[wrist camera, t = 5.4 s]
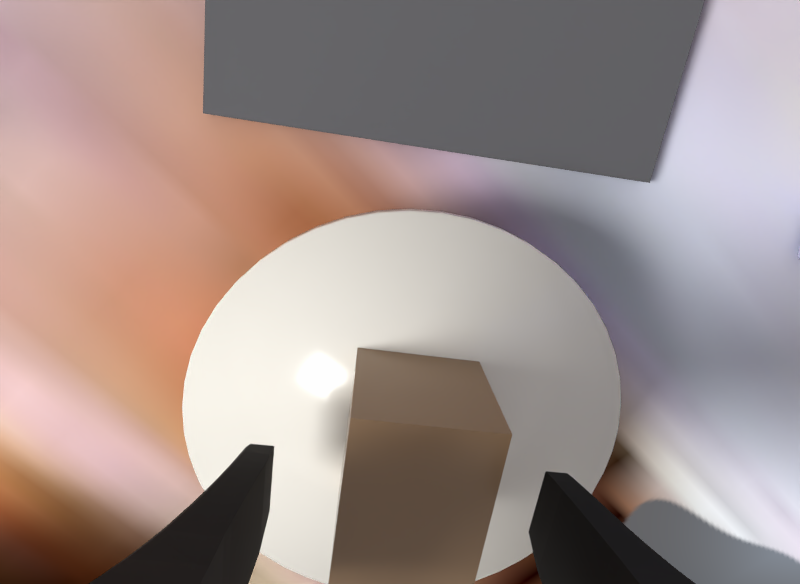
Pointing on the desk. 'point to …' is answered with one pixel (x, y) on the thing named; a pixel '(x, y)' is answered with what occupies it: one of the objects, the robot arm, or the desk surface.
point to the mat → (460, 74)
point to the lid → (404, 395)
